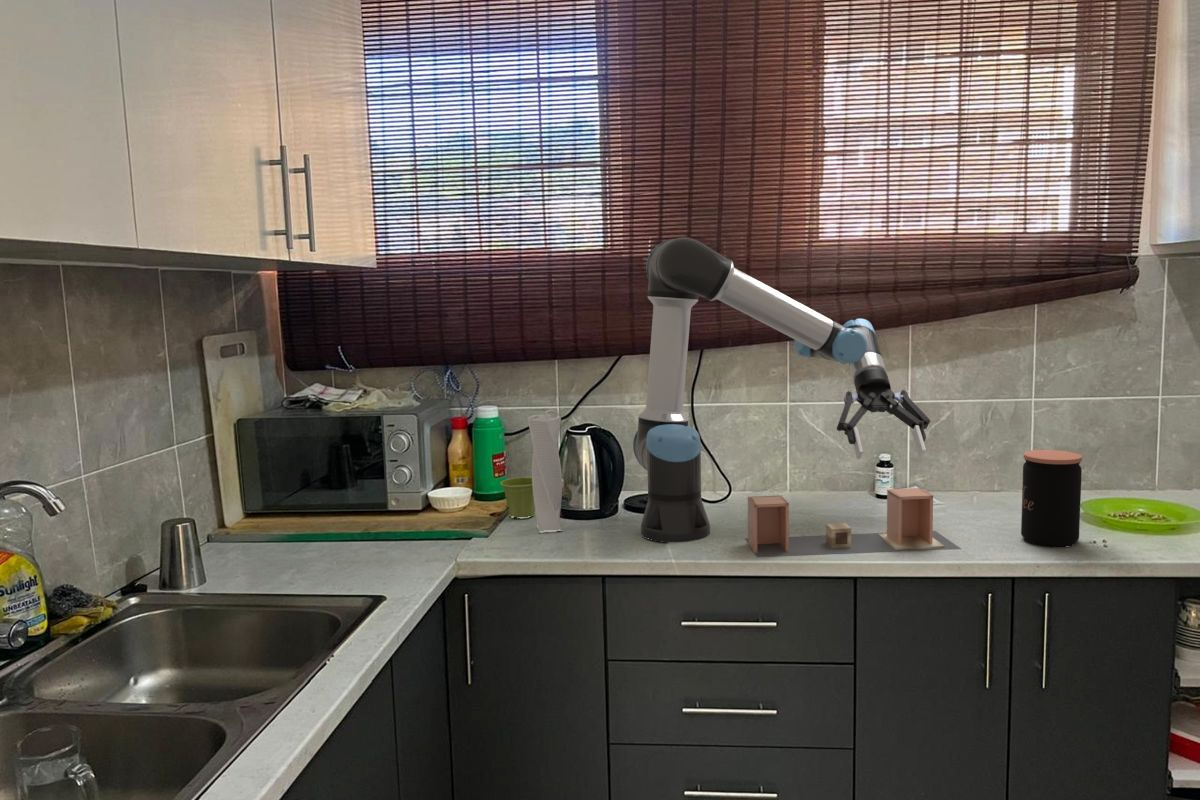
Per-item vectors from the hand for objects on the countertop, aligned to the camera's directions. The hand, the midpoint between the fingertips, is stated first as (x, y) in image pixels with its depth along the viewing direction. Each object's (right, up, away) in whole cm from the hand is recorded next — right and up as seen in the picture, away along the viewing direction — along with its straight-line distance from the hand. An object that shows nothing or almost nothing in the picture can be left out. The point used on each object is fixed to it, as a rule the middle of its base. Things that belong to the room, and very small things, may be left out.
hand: (891, 454), depth 191 cm
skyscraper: (-74, -18, +10) cm, 77 cm away
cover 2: (+1, -17, -9) cm, 19 cm away
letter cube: (-14, -18, -9) cm, 24 cm away
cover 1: (-28, -18, -9) cm, 35 cm away
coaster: (+1, -17, -9) cm, 19 cm away
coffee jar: (+29, -17, -10) cm, 35 cm away
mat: (-11, -18, -8) cm, 23 cm away
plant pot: (-82, -17, +23) cm, 87 cm away
